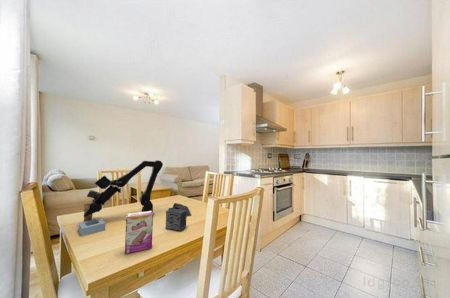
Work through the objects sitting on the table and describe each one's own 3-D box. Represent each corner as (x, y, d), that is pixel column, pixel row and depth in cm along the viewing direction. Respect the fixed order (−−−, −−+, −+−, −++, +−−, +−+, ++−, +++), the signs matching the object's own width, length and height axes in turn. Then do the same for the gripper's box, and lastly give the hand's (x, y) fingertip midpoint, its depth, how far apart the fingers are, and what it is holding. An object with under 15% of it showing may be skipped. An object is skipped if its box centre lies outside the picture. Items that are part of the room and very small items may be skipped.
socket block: (100, 224, 105) (100, 218, 105) (105, 230, 98) (105, 222, 98) (78, 230, 98) (78, 223, 98) (81, 236, 91) (82, 228, 91)
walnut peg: (93, 223, 106) (94, 203, 107) (88, 226, 102) (88, 205, 103) (87, 223, 107) (88, 203, 107) (81, 226, 103) (82, 205, 103)
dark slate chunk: (170, 219, 116) (170, 212, 117) (167, 209, 137) (168, 203, 137) (192, 216, 122) (192, 209, 122) (187, 207, 143) (187, 201, 143)
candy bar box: (124, 255, 75) (125, 217, 75) (125, 249, 79) (126, 213, 80) (152, 248, 80) (153, 213, 81) (151, 243, 85) (152, 210, 85)
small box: (186, 227, 103) (187, 209, 104) (180, 232, 97) (181, 213, 97) (171, 224, 107) (172, 207, 107) (165, 229, 101) (165, 211, 101)
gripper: (99, 183, 115) (77, 202, 109) (95, 188, 99) (68, 211, 93) (112, 193, 119) (92, 212, 113) (111, 200, 103) (86, 222, 97)
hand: (85, 214), depth 104 cm, fingers open, 7 cm apart
